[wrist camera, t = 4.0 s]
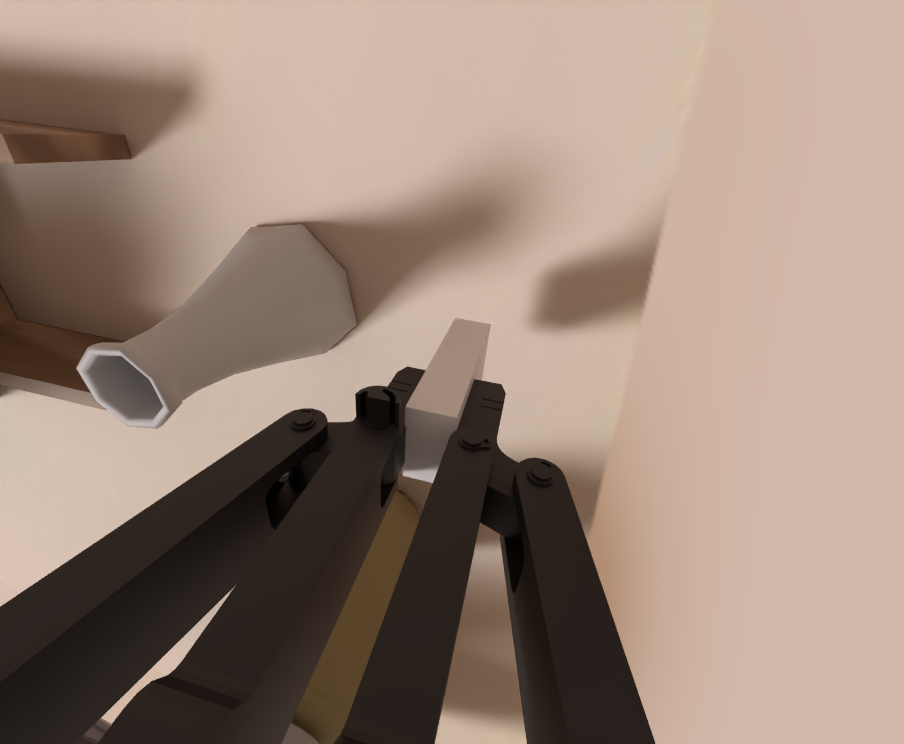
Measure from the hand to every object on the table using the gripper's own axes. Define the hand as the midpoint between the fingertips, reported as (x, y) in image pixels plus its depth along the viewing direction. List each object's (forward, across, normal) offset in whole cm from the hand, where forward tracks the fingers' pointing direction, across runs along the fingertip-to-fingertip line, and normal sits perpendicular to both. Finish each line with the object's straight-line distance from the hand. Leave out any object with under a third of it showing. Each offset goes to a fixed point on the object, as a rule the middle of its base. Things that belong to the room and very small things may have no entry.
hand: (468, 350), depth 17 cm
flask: (+3, +10, 0) cm, 11 cm away
